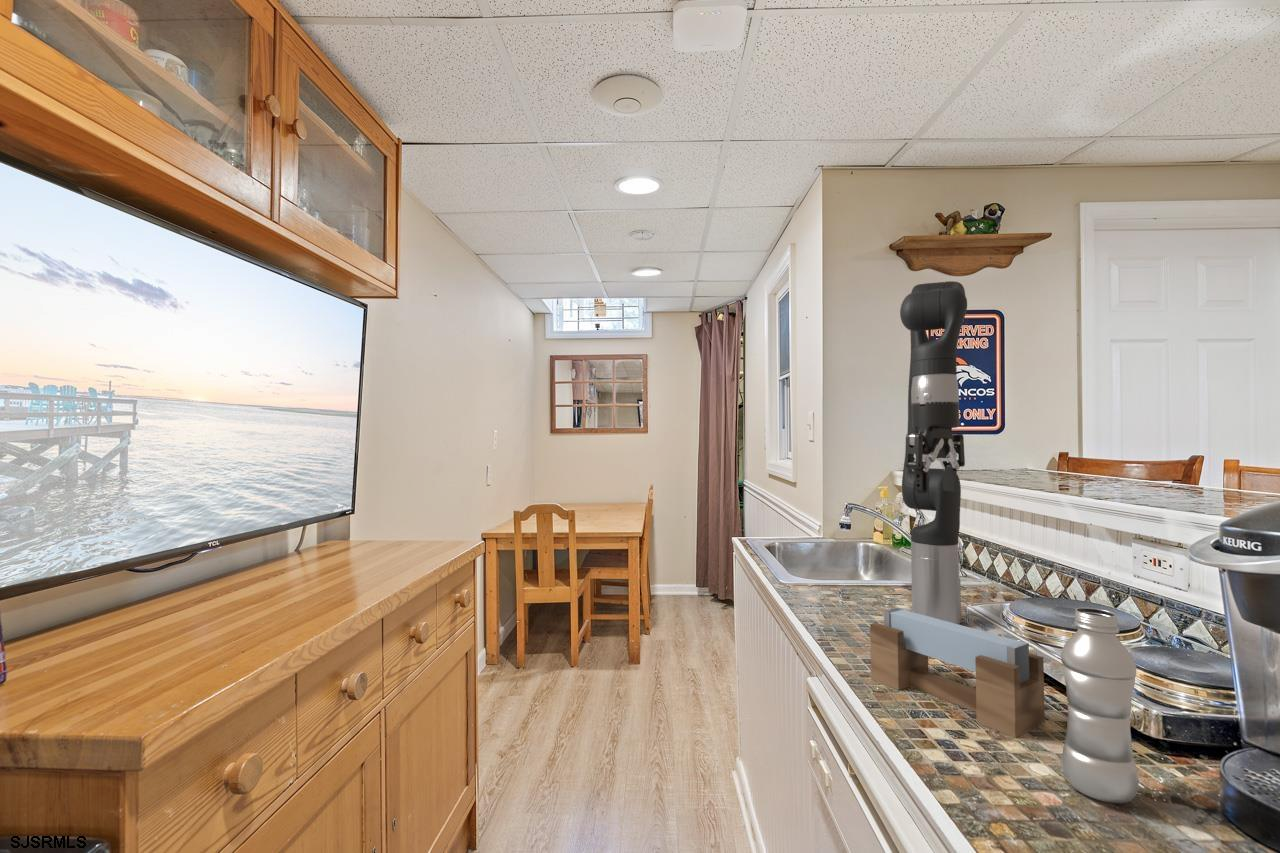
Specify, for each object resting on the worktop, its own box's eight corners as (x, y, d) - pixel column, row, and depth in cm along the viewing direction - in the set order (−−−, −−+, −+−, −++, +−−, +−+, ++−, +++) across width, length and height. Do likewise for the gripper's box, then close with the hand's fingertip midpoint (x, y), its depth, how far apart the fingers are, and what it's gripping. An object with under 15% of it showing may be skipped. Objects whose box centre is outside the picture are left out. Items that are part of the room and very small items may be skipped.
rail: (898, 637, 96) (898, 607, 97) (1029, 679, 79) (1028, 643, 79) (884, 642, 94) (883, 611, 94) (1015, 685, 77) (1014, 648, 77)
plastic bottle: (1067, 769, 68) (1063, 600, 68) (1143, 794, 63) (1138, 612, 64) (1056, 793, 63) (1052, 611, 64) (1137, 822, 59) (1131, 625, 59)
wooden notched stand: (900, 669, 98) (900, 616, 98) (1044, 722, 79) (1043, 657, 80) (870, 679, 94) (870, 624, 94) (1015, 738, 75) (1013, 668, 75)
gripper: (937, 404, 109) (939, 489, 108) (891, 401, 101) (892, 492, 101) (978, 401, 102) (979, 492, 102) (931, 398, 95) (933, 496, 95)
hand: (936, 492), depth 101 cm, fingers open, 8 cm apart
